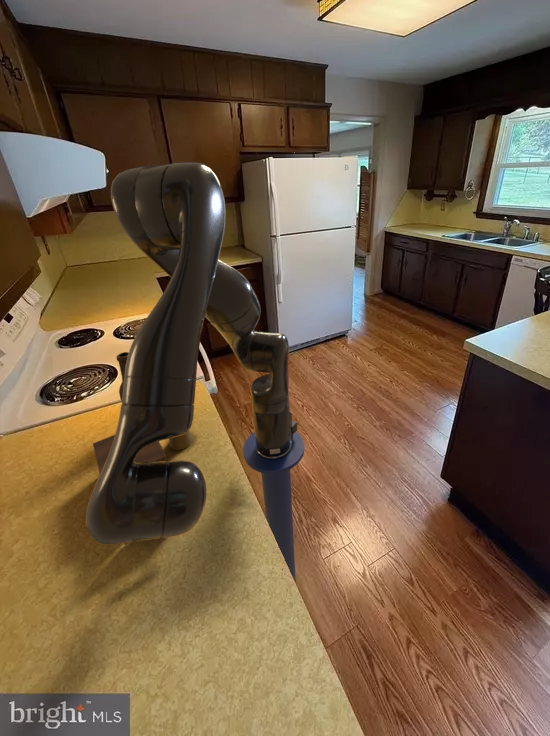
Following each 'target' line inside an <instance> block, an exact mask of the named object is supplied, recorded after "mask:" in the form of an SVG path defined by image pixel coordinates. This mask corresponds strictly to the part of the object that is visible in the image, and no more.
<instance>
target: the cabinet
mask: <svg viewBox="0 0 550 736" xmlns="http://www.w3.org/2000/svg"><path fill="white" fill-rule="evenodd" d="M114 437H115V434H113V435H110V436H108V437H106V438H103V439H101V440H98V441H95V442H93V443H92V445H93V446H92V447H93V449H94V455H95V460H96V464H97V468H98V472H99V474H100V473H101V471H102V469H103V466H104V464H105V462H106V459H107V457H108V454H109V452H110V449H111V446H112V443H113V440H114ZM157 461H166V462H167V461H168V458H167V455H166V452H165V451H164V449H163V447H162V445H161V442H160V441H157V442H154V443H152V444H149V445H147V446H145V447H144V448H143V449H142V450H141V451H140V452H139V453H138V454H137V456H136V458H135V460H134V462H137V463H141V462H157Z"/></svg>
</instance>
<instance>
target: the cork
mask: <svg viewBox="0 0 550 736" xmlns="http://www.w3.org/2000/svg"><path fill="white" fill-rule="evenodd" d="M168 440H169V441H168V443H169V447H170V448H171V449H172V450H174V451H180V450H181V451H182V450H184V449H187V448H188V447H190V446H191V445H192V443H193V441H194V438H193V436H192V434H191V431H190V430H189V431H188V432H187V433H185V434H183V435H181V436H178V437H174V438H170V439H168Z"/></svg>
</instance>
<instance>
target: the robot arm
mask: <svg viewBox="0 0 550 736" xmlns="http://www.w3.org/2000/svg"><path fill="white" fill-rule="evenodd" d="M110 199H111V204H112V208H113V211H114V214H115V217H116V219H117V221H118V222H119V225H120V226H121V228H122V229H123V231H124V233H125V234H126V235H127V237H128V238H129V239H130V240H131V241H132V243H133V244H134V245H135V246H136V247H137V248H138V249H139V250H140V251H141V252H142V253H143V254H144V255H145V256H146V257H147V258H149V259H150V260H151V261H152V263H154V264H155V265H156V266H158V267H159V269H161V270H162V271H163V272H164V273H165V274H166V275H168V277H170V280H169V281H168V284H167V286H166V288H165V290H164V291H163V293H162V294H161V296H160V298H159V299H158V300H157V303H156V304H155V305H154V307H153V308H152V310H150V313H148V315H147V317H146V318H145V320H144V321H143V322H142V324H141V326H140V328H139V329H138V330H137V332H136V333H135V334H136V335H135V337H134V338H133V340H132V343H131V345H130V347H129V351H128V352H129V354H128V357H127V362H126V367H125V375H124V377H125V378H124V384H123V393H122V402H121V404H120V410H119V416H118V422H117V427H116V430H115V434H114V435H115V437H114V440H113V443H112V446H111V449H110V452H109V454H108V457H107V459H106V462H105V464H104V466H103V469H102V471H101V473H99V476H98V478H97V480H96V482H95V484H94V487H93V490H92V492H91V494H90V497H89V500H88V503H87V506H86V511H85V524H86V529H87V531H88V533H89V536H90V537H91V538H92V540H93V541H94V542H96V543H97V544H99V545H102V546H115V545H122V544H125V543H128V544H130V543H137V542H144V541H150V540H158V539H161V538H162V539H165V538H171V537H176V536H180V535H184V534H186V533H187V532H189V531H190V530H192V529H193V528H194V527H195V526H196V525H197V523H198V522H199V520H200V519H201V517H202V515H203V513H204V509H205V506H206V502H207V484H206V479H205V476H204V474H203V472H202V471H201V468H199V466H198V465H197V464H195V462H192V461H189V460H181V459H179V460H176V459H174V460H167V462H166V461H157V462H141V463H137V462H134V460H135V458H136V456H137V454H138V453H139V452H140V451H141V450H142V449H143V448H144V447H145V446H147V445H149V444H152V443H154V442H157V441H159V442H161V441H165V440H169V439H170V438H174V437H178V436H181V435H183V434H185V433H187V432H188V431H190V430H191V428H192V425H193V421H194V412H195V405H194V404H195V400H196V399H195V398H196V386H197V373H198V372H197V371H198V361H199V360H198V359H199V353H200V345H201V338H202V333H203V328H204V323H205V319H207V320H208V322H209V323H210V324H211V325H212V326H213V327H214V328H215V329H216V330H217V332H219V333H220V335H221V336H222V337H223V339H224V340H225V342H226V343H227V344H228V345H229V347H230V348H231V350H232V352H233V354H234V355H235V357H236V359H237V361H238V362H239V364H240V365H241V366H242V367H243V369H245V370H248V371H250V372H257V373H266V374H263V375H259V377H257V378H255V379H254V380H253V381H252V382H251V384H250V387H249V389H250V391H249V392H250V399H251V409H252V417H253V418H252V419H253V427H254V428H253V429H254V432H255V438H256V450H257V453H258V454H259V455H260V456H261V457H263V458H265V459H269V460H276V459H280V458H282V457H284V456H286V455H287V454H288V453H289V452H290V450H291V446H292V445H291V442H292V441H293V434H294V433H295V432H297V431H298V421H295V420H294V419H293V414H292V412H291V410H290V409H291V408H290V390H289V389H290V388H289V387H290V386H289V384H290V376H289V375H290V372H289V371H290V370H289V367H290V366H289V362H290V361H289V360H290V347H289V346H290V344H289V340H288V339H289V338H288V337H287V335H286V334H284V333H281V332H280V333H279V332H268V331H257V330H255V329H256V327H257V325H258V323H259V320H260V317H261V304H260V302H259V300H258V296H257V295H256V293H255V291H254V289H253V287H252V285H251V283H250V282H249V280H248V279H247V278H246V277H245V276H244V275H243V274H242V273H241V272H239V271H238V270H237V269H236V268H234V267H233V266H231V265H229V264H228V263H226V262H224V261H223V260H221V259H220V255H221V250H222V245H223V240H224V236H225V228H226V217H227V216H226V214H227V211H226V201H225V196H224V192H223V189H222V186H221V183H220V181H219V178H218V177H217V175H216V174H215V173H214V171H213V170H212V169H211V168H210V167H209V166H208V165H207V164H204V163H201V162H196V161H195V162H194V161H187V162H185V161H184V162H173V163H166V164H156V165H142V166H136V167H132V168H127V169H125V170H122V171H121V172H119V173H117V175H116V176H115V177H114V179H113V180H112V183H111V186H110Z"/></svg>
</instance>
